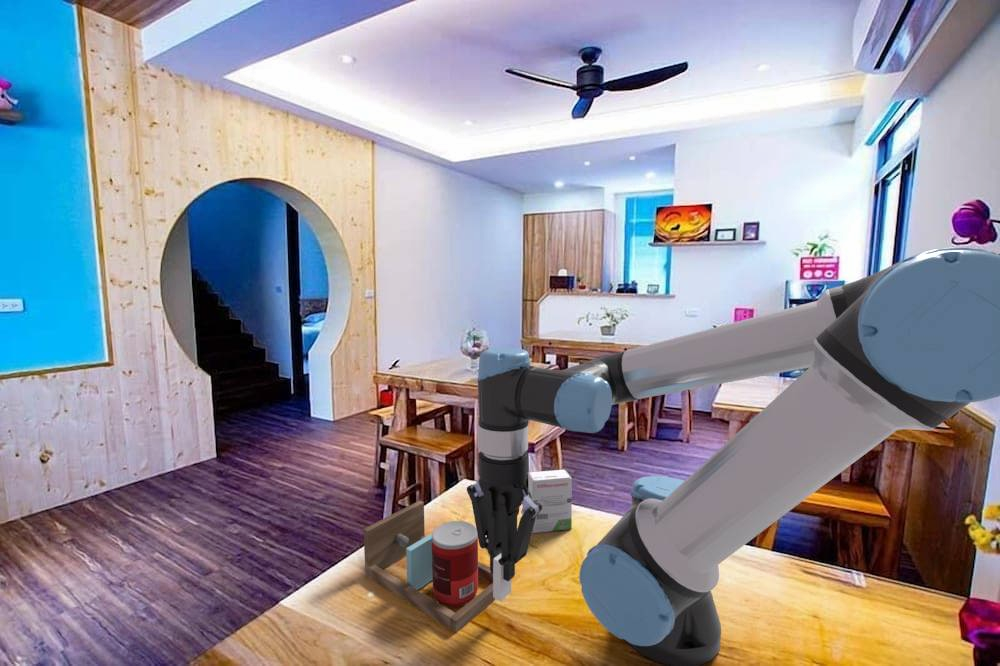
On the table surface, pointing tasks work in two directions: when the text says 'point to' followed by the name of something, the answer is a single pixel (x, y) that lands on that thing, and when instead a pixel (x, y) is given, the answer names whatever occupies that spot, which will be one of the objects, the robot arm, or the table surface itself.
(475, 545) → the canned food
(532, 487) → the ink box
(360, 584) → the table surface
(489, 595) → the brown open rectangular frame
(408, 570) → the panel
